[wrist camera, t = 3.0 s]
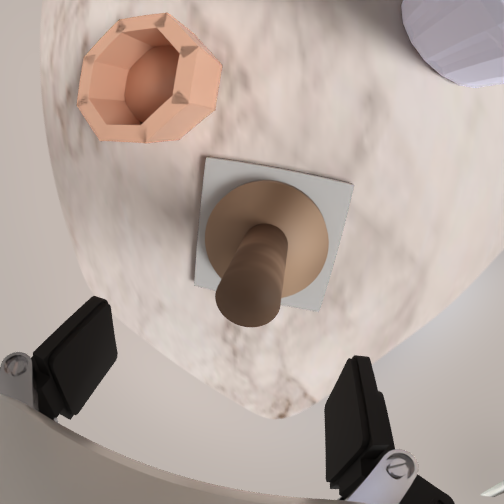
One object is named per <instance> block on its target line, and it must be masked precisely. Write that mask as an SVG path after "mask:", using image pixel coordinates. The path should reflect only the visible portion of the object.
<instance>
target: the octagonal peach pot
mask: <svg viewBox="0 0 504 504" xmlns="http://www.w3.org/2000/svg"><path fill="white" fill-rule="evenodd" d="M221 70H222V64H221V63H220V62H219V61H218V60H217V59H216V58H215V56H214V55H213V54H212V53H211V52H210V51H209V50H208V49H207V47H206V46H205V45H204V44H203V43H202V42H201V41H200V40H199V39H198V38H197V36H196V35H195V34H194V33H192V32H191V31H190V30H189V29H188V28H186V27H185V26H184V25H183V24H181V23H180V22H179V21H178V20H176V19H175V18H174V17H172V16H171V15H170V14H169V13H167V12H166V13H160V14H152V15H144V16H138V17H132V18H126V19H119V20H118V21H117V22H116V23H115V24H114V25H113V26H112V27H111V28H110V29H109V30H108V31H107V32H106V33H105V35H104V36H103V37H102V38H101V39H100V40H99V41H98V42H97V43H96V44H95V45H94V46H93V48H92V49H91V50H90V51H89V52H88V53H87V54H86V56H85V57H84V60H83V65H82V71H81V77H80V83H79V91H78V98H77V107H78V108H79V110H80V111H81V113H82V114H83V116H84V117H85V119H86V121H87V122H88V124H89V125H90V127H91V128H92V130H93V131H94V133H95V134H96V136H97V137H98V139H99V141H119V142H137V143H153V142H162V141H172V140H180V139H181V138H182V137H183V136H184V135H185V134H186V133H188V132H189V131H190V130H191V129H192V128H193V127H195V126H196V125H197V124H198V123H200V122H201V121H202V120H203V119H205V118H206V117H207V116H208V115H210V114H211V113H212V112H213V111H215V108H216V101H217V95H218V88H219V82H220V76H221Z"/></svg>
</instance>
